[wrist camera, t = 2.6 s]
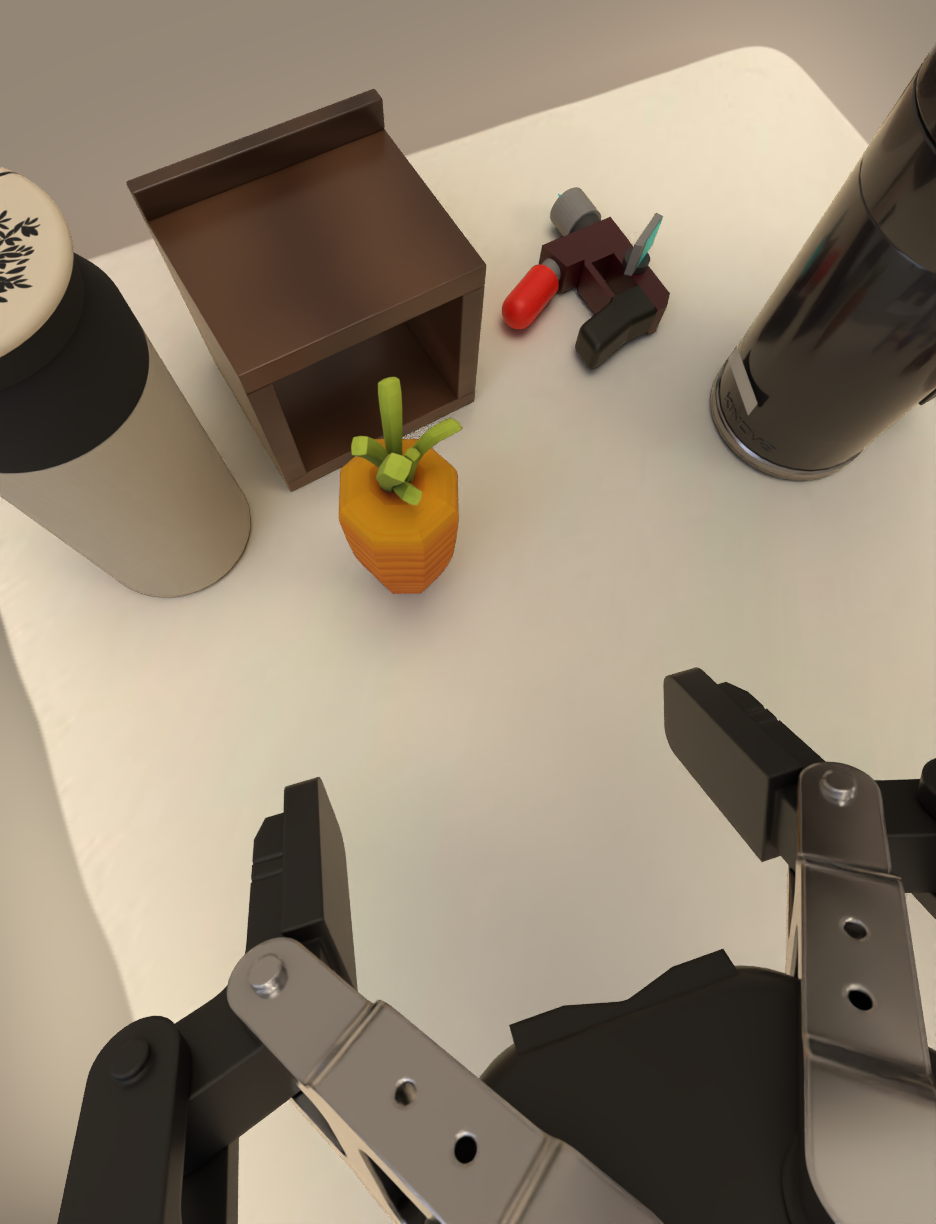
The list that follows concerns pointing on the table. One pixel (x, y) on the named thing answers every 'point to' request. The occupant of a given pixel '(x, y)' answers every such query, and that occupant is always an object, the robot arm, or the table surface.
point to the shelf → (321, 280)
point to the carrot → (400, 500)
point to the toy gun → (593, 278)
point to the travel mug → (101, 418)
